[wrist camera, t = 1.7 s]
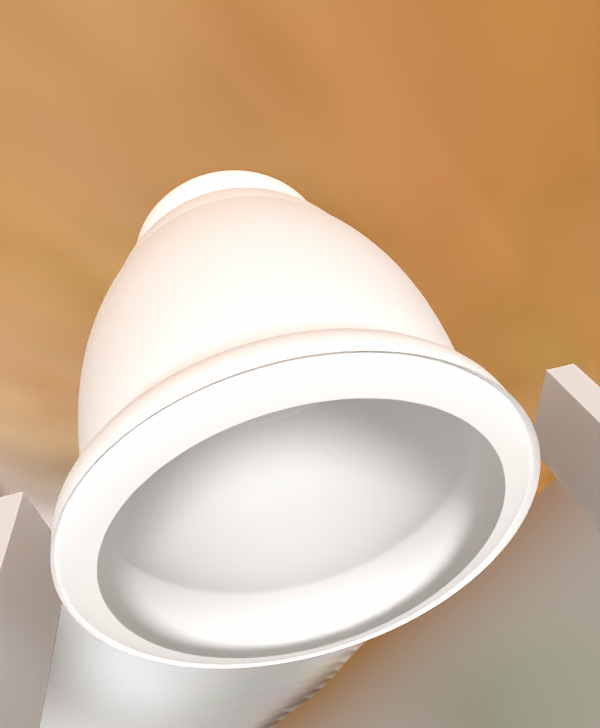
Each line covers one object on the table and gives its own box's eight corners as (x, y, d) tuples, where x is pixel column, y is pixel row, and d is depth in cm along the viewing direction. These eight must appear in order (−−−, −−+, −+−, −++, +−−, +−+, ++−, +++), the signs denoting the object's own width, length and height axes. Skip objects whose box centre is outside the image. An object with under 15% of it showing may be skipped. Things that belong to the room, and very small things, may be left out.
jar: (344, 123, 20) (603, 300, 8) (350, 336, 26) (503, 611, 15) (72, 161, 19) (-75, 435, 7) (145, 376, 25) (131, 715, 13)
